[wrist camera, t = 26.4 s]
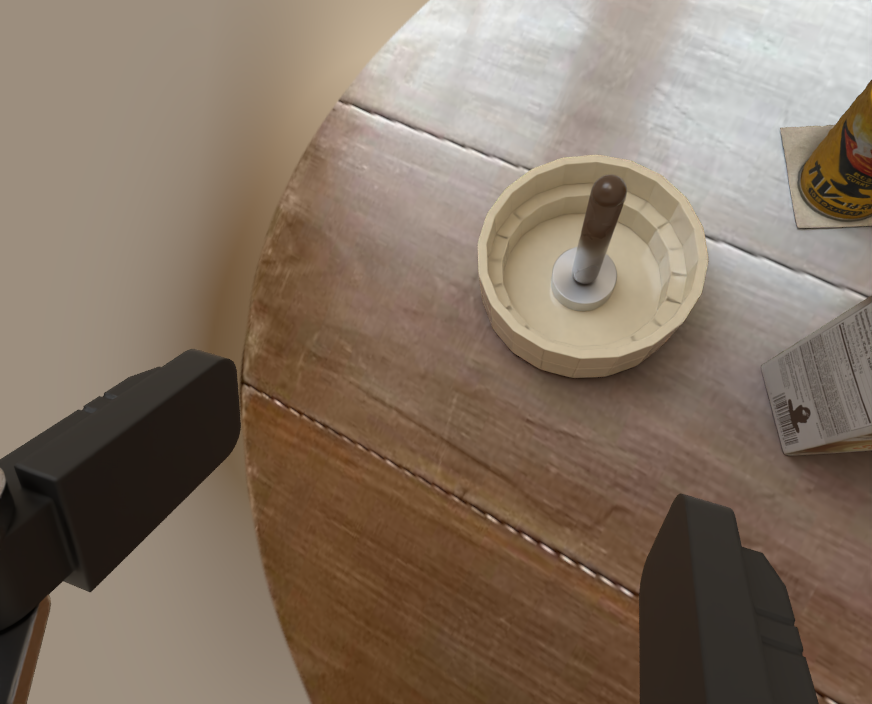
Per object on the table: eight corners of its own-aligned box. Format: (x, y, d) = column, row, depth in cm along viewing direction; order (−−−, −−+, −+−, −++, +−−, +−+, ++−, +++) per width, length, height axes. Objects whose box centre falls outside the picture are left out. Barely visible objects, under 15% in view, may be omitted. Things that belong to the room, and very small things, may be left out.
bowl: (458, 350, 40) (450, 325, 35) (510, 184, 44) (510, 138, 38) (659, 403, 37) (683, 385, 32) (698, 220, 41) (726, 177, 36)
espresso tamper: (544, 303, 40) (557, 211, 28) (559, 249, 41) (578, 138, 29) (605, 318, 39) (647, 229, 27) (619, 262, 40) (665, 153, 28)
